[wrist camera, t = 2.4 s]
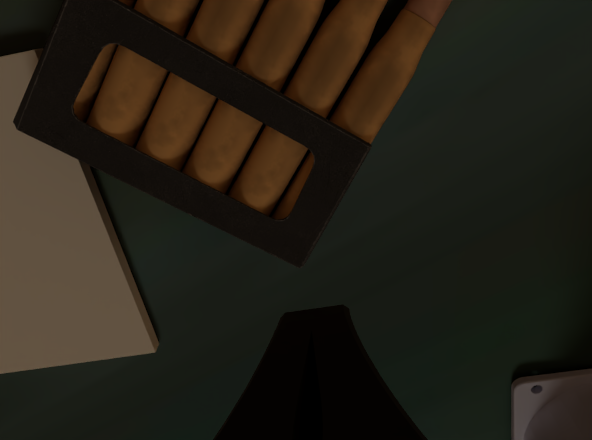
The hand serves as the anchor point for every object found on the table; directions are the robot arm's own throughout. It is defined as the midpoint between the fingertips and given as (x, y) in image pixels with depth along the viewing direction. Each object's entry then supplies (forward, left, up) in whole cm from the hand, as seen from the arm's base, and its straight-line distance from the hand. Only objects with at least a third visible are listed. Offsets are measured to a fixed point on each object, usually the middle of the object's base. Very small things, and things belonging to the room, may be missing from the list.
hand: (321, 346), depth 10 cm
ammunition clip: (+5, -1, -8) cm, 10 cm away
